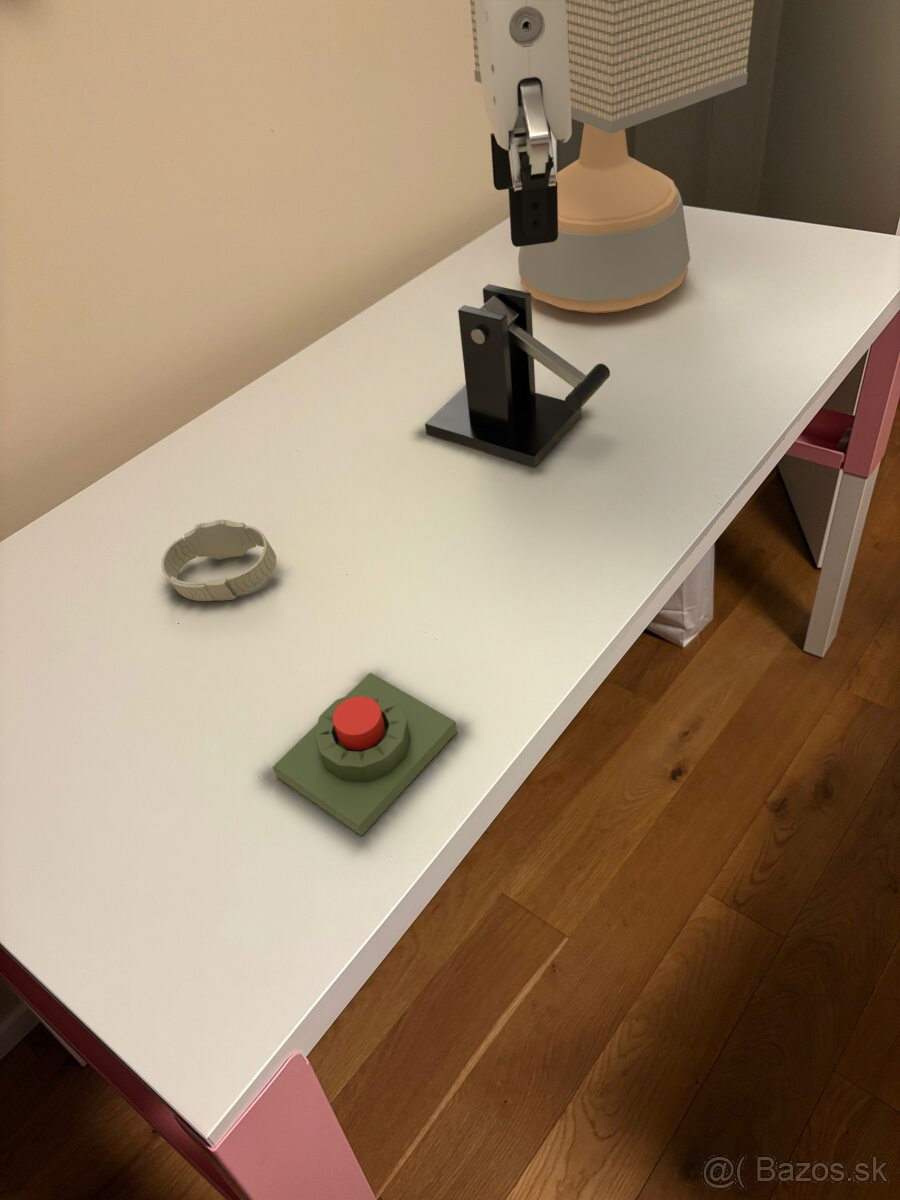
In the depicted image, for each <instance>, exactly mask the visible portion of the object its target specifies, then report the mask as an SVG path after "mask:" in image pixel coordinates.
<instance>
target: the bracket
mask: <svg viewBox="0 0 900 1200" xmlns="http://www.w3.org/2000/svg"><path fill="white" fill-rule="evenodd" d="M493 296H495V297H497V298H498V299H499V300H501V301H502V302H503V303H505V304H506V305H508V306H509V307H510V308H512V309H513V310H515V311H516V312H517V313H519V316H518V318H517V320H516V322H515V324H516V325H517V326H519V327H520V328H521V329H523V330H524V331H525V332H527V333H528V334H530V335H531V336H532V337H534V327H533V308H532V306H533V305H532V295H531V293H529V292H528V291H524V290H523V291H522V290H518V289H513V288H509V287H505V286H504V287H503V286H499V285H495V284H490V283H488V284H487V285H485V286H484V287H483V288H482V297H483V305H484V304H485V303H486V302H487V301H489V300H490V299H491V298H492V297H493ZM457 314H458V315H457V316H458V322H459V323H458V324H459V333H460V342H461V351H462V362H463V371H464V380H465V385H464V386H463V387H462V388H461V389H460V390H459V391H458V392H457V393H456V394H454V396H453V397H452V398H450V399H449V400H448V401H447V402H446V403H445V404H444V405H443V406H442V407H441V408H440V409H439V410H438V411H436V413H435V414H434V415H433V416H431V417H430V418H429V419H428V420H427V421H426V422H425V423H424V426H425V427H424V428H425V433H426V435H429V436H432V437H435V438H439V439H442V440H445V441H448V442H450V443H454V444H457V445H461V446H464V447H467V448H470V449H473V450H477V451H481V452H483V453H487V454H490V455H493V456H496V457H500V458H503V459H507V460H508V461H509V460H510V461H512V462H516V463H519V464H523V465H526V466H529V467H531V468H536V467H537V465H538V464H540V462H541V461H542V460H543V459H544V458H545V457H546V455H548V454H549V452H550V451H551V450H552V449H553V448H554V447H555V446H556V444H557V443H558V442H559V441H560V440H561V439H562V438H563V437H564V436H565V435H566V433H567V432H568V431H569V430H570V429H571V428H572V427H573V426H574V425H575V424H576V422H577V421H578V420H579V419H580V418H581V417H582V415H583V406H582V407H581V409H580V410H578V411H572V410H570V409H568V408H567V406H566V404H565V399H561V398H556V397H553V396H549V395H546V394H542V393H538V392H536V374H535V359H534V358H533V357H532V356H530V355H529V354H527V353H526V352H525V351H523V350H522V349H521V348H519V347H518V346H516V345H515V344H514V343H512V342H511V341H510V340H509V338H508V323H507V315H505V314H501V313H496V312H492V311H488V310H483V309H480V308H478V307H474V306H469V305H465V304H464V305H462V306H461V307H460V308H459V309H458V310H457Z"/></svg>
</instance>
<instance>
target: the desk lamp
mask: <svg viewBox="0 0 900 1200" xmlns="http://www.w3.org/2000/svg"><path fill="white" fill-rule="evenodd" d="M469 3H470V16H471V17H470V19H471V29H472V30H471V31H472V43H473V44H472V46H473V55H474V56H473V57H474V68H475V69H474V70H473V71H474V82H477V83H480V84H482V82H481V74H480V65H479V55H478V44H477V32H476V18H475V4H474V0H469ZM754 6H755V0H566V12H567V28H568V48H569V74H570V100H571V120H575V121H578V122H580V123H583V130H582V138H581V143H580V151H579V157H578V158H577V159H576V160H575V161H573V162H572V163H570V164H568V165H567V166H566V167H564V168H563V169H561V170H560V171H558V172H555V173H556V181H557V195H558V238H557V240H556V241H554V242H550V243H542V244H535V245H527V246H520V247H519V251H518V257H517V262H518V275H519V277H520V285H521V286H522V287H523V288H524V289H525V290H526V292H527V293H531V297H533V298H535V299H537V300H539V301H542V302H545V303H546V304H550V305H552V306H554V307H557V308H560V309H563V310H568V311H572V312H579V313H587V314H594V315H595V314H606V313H607V314H608V313H610V314H611V313H619V312H623V311H627V310H630V309H633V308H636V307H639V306H642V305H647V304H649V303H653V302H656V301H658V300H660V299H661V298H663V297H664V296H666V295H667V294H669V293H671V292H672V291H674V290H675V289H677V288H678V287H680V286H681V284H682V282H683V280H684V279H685V277H686V274H687V273H688V271H689V262H690V260H691V254H690V249H689V241H688V234H687V226H686V219H685V213H684V212H685V211H684V204H683V199H682V196H681V193H680V191H679V188H678V187H677V186H676V185H675V182H674V180H673V179H671V178H669V177H668V176H667V175H665V174H663V173H662V172H661V171H659V170H656V169H654V168H652V167H651V166H648V165H647V164H644V163H643V162H640V161H639V160H637V159H635V158H634V157H631V156H629V153H628V152H629V151H628V144H627V137H626V135H627V134H626V129H629V128H631V127H634V126H637V125H639V124H642V123H645V122H648V121H650V120H653V119H655V118H658V117H662V116H664V115H667V114H669V113H672V112H675V111H678V110H681V109H684V108H686V107H688V106H691V105H694V104H697V103H699V102H700V103H701V102H702V101H705V100H707V99H711V98H713V97H716V96H718V95H722V94H724V93H727V92H729V91H733V90H735V89H737V88H740V87H743V86H746V85H747V84H748V83H747V82H748V63H749V53H750V52H749V51H750V44H751V35H752V34H751V33H752V25H753V17H754Z"/></svg>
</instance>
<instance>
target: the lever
mask: <svg viewBox="0 0 900 1200" xmlns="http://www.w3.org/2000/svg"><path fill="white" fill-rule="evenodd" d="M479 309H483V310H488V311H492V312H496V313H501V314H505V315H507V323H508V338H509V340H510V341H511V342H512V343H514V344H515V345H516V346H518V347H519V348H521V349H522V350H523V351H525V352H526V353H527V354H529V355H530V356H532V357H533V358H534V360H535V361H536V362H538V363H540V364H541V365H542V366H544V367H545V368H546V369H548V370H549V371H551V372H552V373H553V374H555V375H556V376H558V377H559V378H560V379H562V380H563V381H564V382H566V383H567V384H568V385H570V386H571V387H572V388H573V389H572V390H571V391H570V392H569V393H568V394H567V396H565V398H564V400H565V404H566V406H567V408H568V409H570V410H572V411H578V410H580V409H581V407H582V408H583V406H585V404H586V403H587V402H588V401H589V400H590V399H591V398H592V397H593V396H594V394H595V393H597V392H598V390H599V389H600V388H601V387H602V386H603V385H604V384H605V382H607V380H608V379H609V378H610V376H611V370H610V368H609V366H607V365H606V364H604V363H598V364H596V365H595V366H593V368H592V369H591V370H590V371H589V372H588V373H587V374H585V373H583V372H582V371H581V370H580V369H578V368H577V367H575V366H574V365H573V364H571V363H570V362H568V361H567V360H566V359H564V358H563V357H561V356H560V355H558V354H557V353H556V352H554V351H553V350H552V349H551V348H549V347H548V346H546V345H545V344H544V343H542V342H541V341H540V340H538V339H537V338H535V337H534V336H533V337H532V336H531V335H530V334H528V333H527V332H525V331H524V330H523V329H521V328H520V327H519V326H517V325H516V324H515V322H516V320H517V318H518V316H519V313H517V312H516V311H515V310H513V309H512V308H510V307H509V306H508V305H506V304H505V303H503V302H502V301H501V300H499V299H498V298H497V297H495V296H493V297H492V298H491V299H490V300H489V301H487V302H486V303H485V304H484V303H483V305H482V306H481V307H480V308H479Z"/></svg>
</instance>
